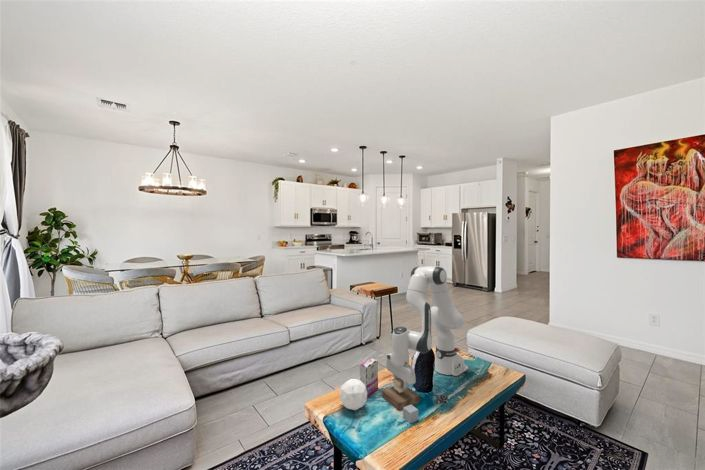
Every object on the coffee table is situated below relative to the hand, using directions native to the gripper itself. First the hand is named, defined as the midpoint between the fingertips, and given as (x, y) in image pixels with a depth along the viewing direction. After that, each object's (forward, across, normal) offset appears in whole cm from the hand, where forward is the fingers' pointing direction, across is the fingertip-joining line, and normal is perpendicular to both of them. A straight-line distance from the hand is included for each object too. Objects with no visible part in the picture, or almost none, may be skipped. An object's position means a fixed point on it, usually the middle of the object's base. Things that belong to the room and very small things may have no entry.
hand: (400, 385), depth 157 cm
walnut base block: (+8, 0, 0) cm, 8 cm away
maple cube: (+2, 0, 0) cm, 2 cm away
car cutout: (+8, -14, -21) cm, 27 cm away
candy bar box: (+8, +15, +10) cm, 20 cm away
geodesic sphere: (+8, +5, +25) cm, 27 cm away
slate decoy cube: (+8, -15, +6) cm, 18 cm away
